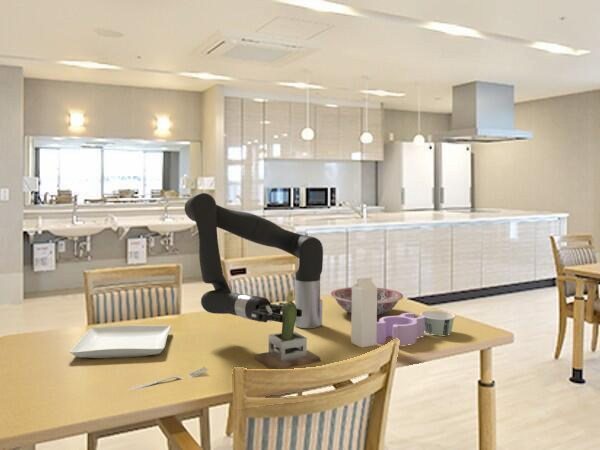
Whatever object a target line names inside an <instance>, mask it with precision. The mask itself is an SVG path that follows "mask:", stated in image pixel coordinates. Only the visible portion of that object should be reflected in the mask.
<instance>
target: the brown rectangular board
mask: <svg viewBox="0 0 600 450" xmlns="http://www.w3.org/2000/svg"><path fill="white" fill-rule="evenodd" d="M300 347H301V346H300ZM254 358H255V360H257V361H259V362H260V363H261V364H263V365H264V366H266V367H267V368H268V369H270V370H271V369H276V370H280V369H279V368H281V369H285V368H286V369H287V368H289V367H296V366H300V365H305V364H310V363H315V362H316V363H317V362H321V359H322V358H321V357H320V356H318V355H317V354H315V353H314V352H311V351H310V350H308V349H307V358H303V359H298V360H292V361H287V362H282V363H281V362H280V361H278V360H277V359H275V358H274V357H272V356H271V355H269V351H266V352H261V353H255V354H254Z"/></svg>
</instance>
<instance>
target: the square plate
mask: <svg viewBox="0 0 600 450" xmlns="http://www.w3.org/2000/svg"><path fill="white" fill-rule="evenodd" d="M172 329H173V326H172V325H170V324H168V325H166V324H165V325H152V324H151V325H146V324H145V325H144V324H143V325H115V326H113V325H112V326H97V327H96V326H95V327H91V328H89V329H88V330H87V331H86V332H85V333H84V335H83V336H81V338H80V339H79V340H78V341H77V342H76V344H75V345H74V346H73V347H72V348H71V349H70V351H69V353H70V354H72V355H73V356H74V357H77V358H91V359H102V358H103V359H105V358H106V359H107V358H110V359H111V358H129V357H131V358H133V357H146V356H147V357H148V356H152V355H153V356H154V355H159V354H160V353H162V352H163V351H164V350H165V347H166V344H167V339H168V336H169V334H170V332H171V330H172Z"/></svg>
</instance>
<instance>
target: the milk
mask: <svg viewBox="0 0 600 450" xmlns="http://www.w3.org/2000/svg"><path fill="white" fill-rule="evenodd" d="M351 287H352V313H351V316H350V317H351V321H350V322H351V323H350V325H351V328H350V329H351V331H350V336H351V337H350V343H351V344H352V345H353V344H354V345H355V346H358V347H359V348H367V347H373V346H376V345H377V343H376V331H377V322H378V321H377V320H378V315H377V288H378V287H377V286H376V284H374V282H373V277H372V276H369V277H362V278H361V277H360V278H359V277H358V278H357V279H356V283H355V284H354V285H352V286H351Z"/></svg>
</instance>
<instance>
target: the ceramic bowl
mask: <svg viewBox="0 0 600 450" xmlns="http://www.w3.org/2000/svg"><path fill="white" fill-rule="evenodd" d="M330 296H331V298H333V299H335V301H336V303H337V304H338V305H339V307H341V309H343V310H344V311H346V312H348V313H350V314H352V286H350V287H349V286H348V287H343V288H337V289H335V290H332V291H331V292H330ZM403 298H404V294H402V292H399V291H397V290H394V289H389V288H385V287H384V288H383V287H377V316H378V315H383V314H386V313H388V312H390V311H391V310H392V309H394V308H395V306H396V305H397V304H398V302H399V301H400V300H403Z"/></svg>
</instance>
